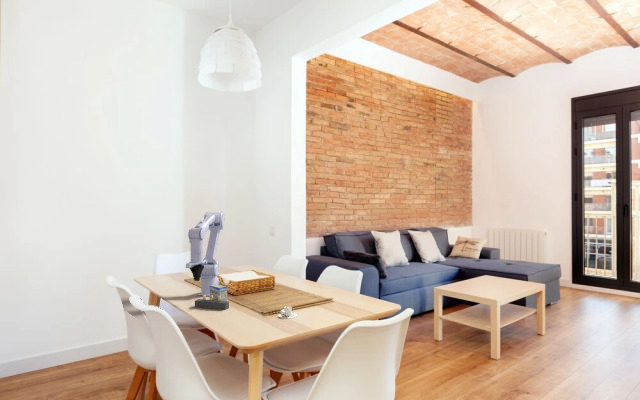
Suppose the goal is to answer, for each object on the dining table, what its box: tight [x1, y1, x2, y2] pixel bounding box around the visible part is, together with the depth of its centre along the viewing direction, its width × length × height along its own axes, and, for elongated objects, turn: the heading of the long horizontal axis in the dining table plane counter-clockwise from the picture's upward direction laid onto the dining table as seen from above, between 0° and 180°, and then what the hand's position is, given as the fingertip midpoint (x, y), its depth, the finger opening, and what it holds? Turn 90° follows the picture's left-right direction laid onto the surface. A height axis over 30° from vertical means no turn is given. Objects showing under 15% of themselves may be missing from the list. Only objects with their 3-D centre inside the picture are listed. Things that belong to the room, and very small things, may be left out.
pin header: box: [194, 295, 230, 311], centre depth 177 cm, size 3×16×6 cm, turn 73°
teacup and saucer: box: [278, 305, 298, 319], centre depth 165 cm, size 9×8×4 cm
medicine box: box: [209, 284, 228, 301], centre depth 183 cm, size 8×4×9 cm, turn 53°
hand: (196, 280), depth 186 cm, fingers closed
